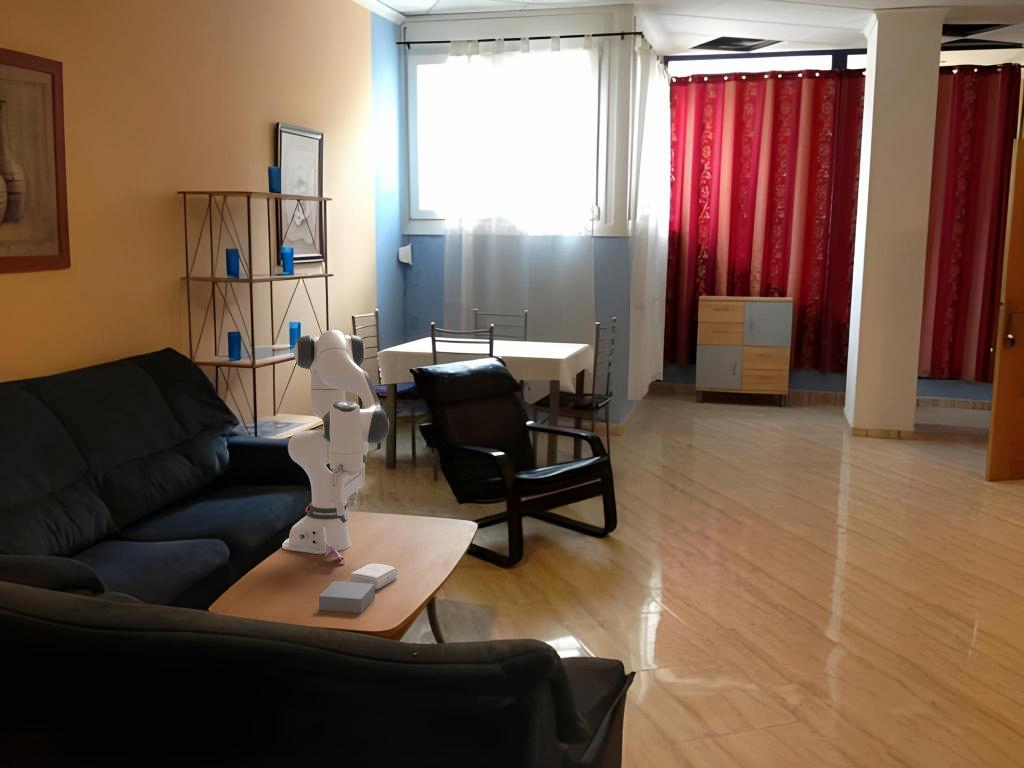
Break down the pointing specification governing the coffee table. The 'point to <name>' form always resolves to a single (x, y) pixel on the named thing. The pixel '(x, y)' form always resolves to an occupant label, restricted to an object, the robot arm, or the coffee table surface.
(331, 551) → the lily
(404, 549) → the coffee table surface
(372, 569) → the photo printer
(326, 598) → the slate block
